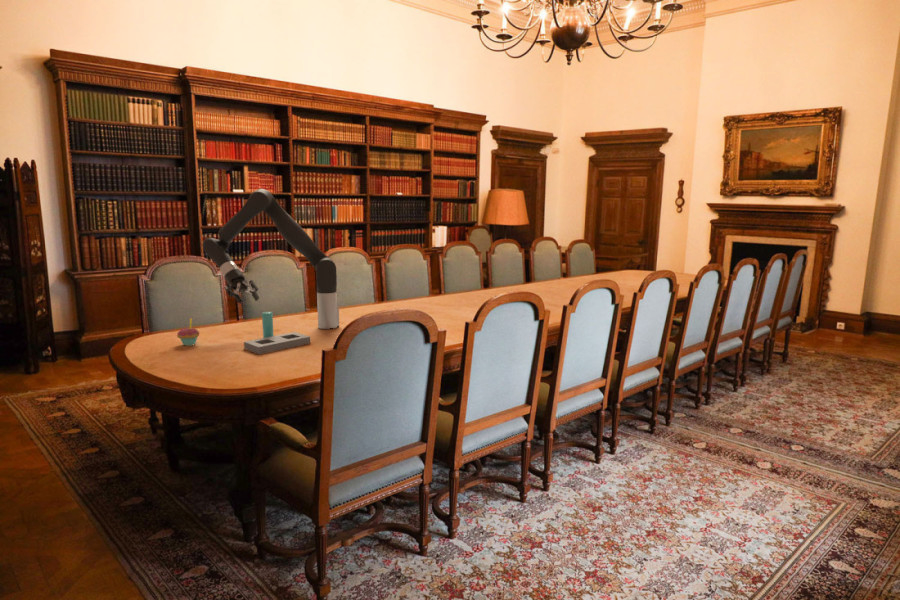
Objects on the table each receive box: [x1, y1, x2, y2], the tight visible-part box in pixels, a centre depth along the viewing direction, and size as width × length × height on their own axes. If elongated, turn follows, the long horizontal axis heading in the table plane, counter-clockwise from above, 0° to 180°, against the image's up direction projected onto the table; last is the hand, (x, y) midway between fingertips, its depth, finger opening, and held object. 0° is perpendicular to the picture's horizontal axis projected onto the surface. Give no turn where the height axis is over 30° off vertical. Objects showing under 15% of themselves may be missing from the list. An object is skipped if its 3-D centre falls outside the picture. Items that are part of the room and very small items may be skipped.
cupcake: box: [176, 317, 200, 346], centre depth 243 cm, size 9×8×12 cm
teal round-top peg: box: [261, 311, 275, 338], centre depth 252 cm, size 4×4×12 cm
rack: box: [243, 331, 311, 355], centre depth 242 cm, size 24×12×3 cm, turn 137°
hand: (249, 301), depth 256 cm, fingers open, 8 cm apart
